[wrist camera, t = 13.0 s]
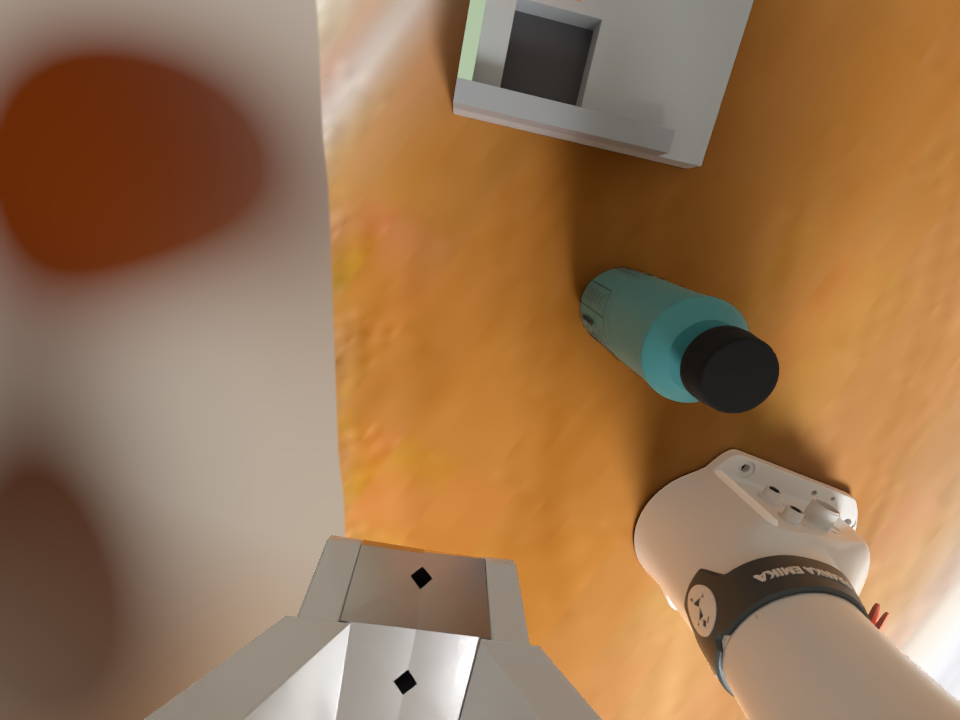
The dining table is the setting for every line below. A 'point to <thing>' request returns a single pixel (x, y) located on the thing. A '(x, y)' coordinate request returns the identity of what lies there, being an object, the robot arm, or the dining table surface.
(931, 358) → the dining table surface
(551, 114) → the tray
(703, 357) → the beverage bottle
